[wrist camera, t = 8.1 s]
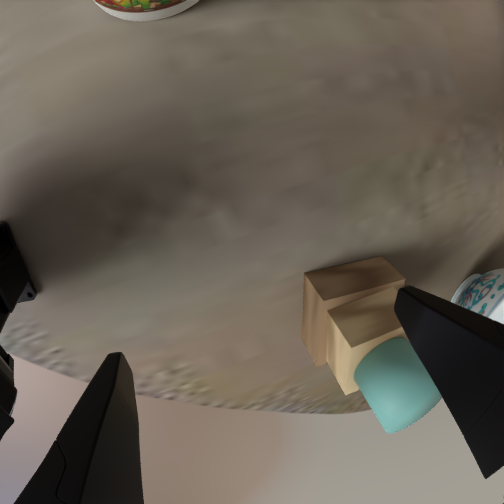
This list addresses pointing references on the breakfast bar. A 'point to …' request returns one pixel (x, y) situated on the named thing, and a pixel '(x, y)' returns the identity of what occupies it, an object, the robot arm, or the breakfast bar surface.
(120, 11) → the milk bottle
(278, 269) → the breakfast bar surface
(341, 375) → the top block
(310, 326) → the base block
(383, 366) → the teal cylinder
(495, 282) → the chinaware
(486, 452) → the robot arm
